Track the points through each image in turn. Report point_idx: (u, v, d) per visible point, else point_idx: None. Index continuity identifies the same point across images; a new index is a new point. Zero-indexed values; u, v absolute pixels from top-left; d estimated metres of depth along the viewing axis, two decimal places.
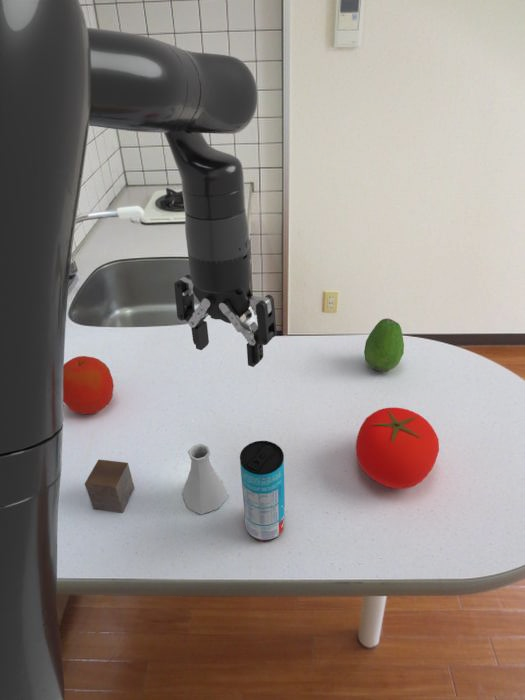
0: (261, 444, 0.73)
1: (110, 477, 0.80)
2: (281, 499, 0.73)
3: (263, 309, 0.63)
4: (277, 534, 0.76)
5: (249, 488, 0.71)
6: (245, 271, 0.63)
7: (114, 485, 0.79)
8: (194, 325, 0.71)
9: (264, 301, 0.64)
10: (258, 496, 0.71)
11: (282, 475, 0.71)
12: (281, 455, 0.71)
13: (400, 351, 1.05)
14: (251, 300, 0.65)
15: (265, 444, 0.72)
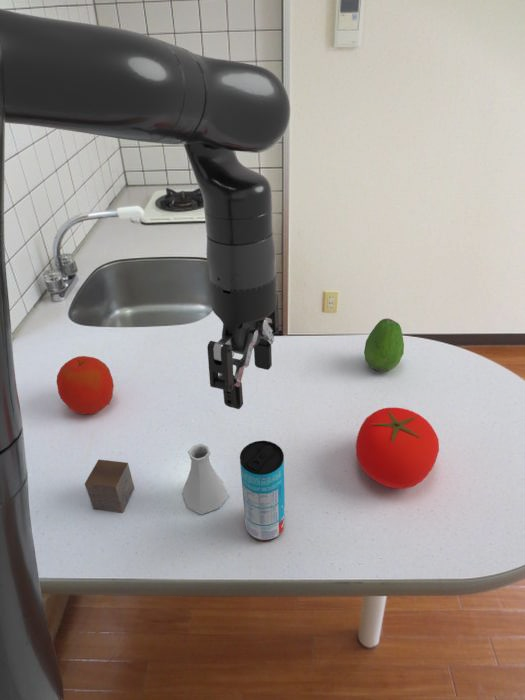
0: (261, 444, 0.73)
1: (110, 477, 0.80)
2: (281, 499, 0.73)
3: (207, 348, 0.57)
4: (277, 534, 0.76)
5: (249, 488, 0.71)
6: (227, 306, 0.57)
7: (114, 485, 0.79)
8: None
9: (214, 344, 0.57)
10: (258, 496, 0.71)
11: (282, 475, 0.71)
12: (281, 455, 0.71)
13: (400, 351, 1.05)
14: (223, 338, 0.58)
15: (265, 444, 0.72)
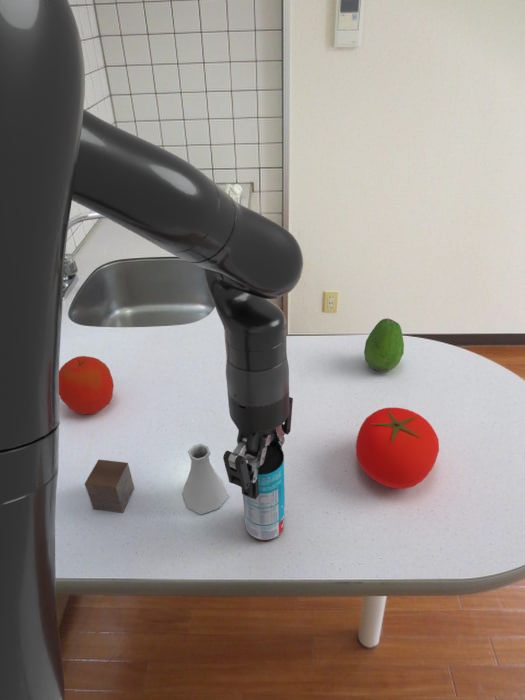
0: None
1: (110, 477, 0.80)
2: (281, 499, 0.73)
3: (223, 458, 0.63)
4: (277, 534, 0.76)
5: None
6: (242, 418, 0.62)
7: (114, 485, 0.79)
8: None
9: (229, 456, 0.63)
10: (258, 496, 0.71)
11: (282, 475, 0.71)
12: (281, 455, 0.71)
13: (400, 351, 1.05)
14: None
15: None
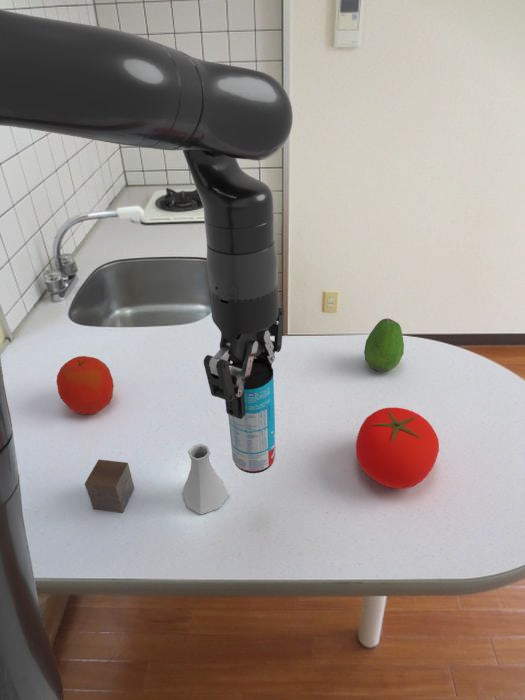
0: None
1: (110, 477, 0.80)
2: (270, 423, 0.66)
3: (204, 363, 0.56)
4: (266, 465, 0.69)
5: None
6: (224, 316, 0.55)
7: (114, 485, 0.79)
8: (254, 356, 0.66)
9: (210, 359, 0.56)
10: (244, 416, 0.64)
11: (272, 394, 0.64)
12: (270, 371, 0.64)
13: (400, 351, 1.05)
14: (220, 350, 0.57)
15: (253, 361, 0.66)
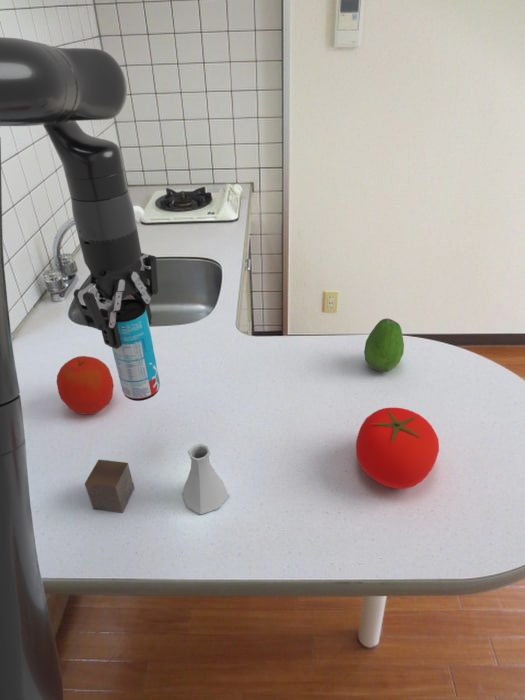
0: (128, 302, 0.77)
1: (110, 477, 0.80)
2: (147, 354, 0.78)
3: (74, 296, 0.68)
4: (149, 393, 0.81)
5: None
6: (89, 256, 0.67)
7: (114, 485, 0.79)
8: None
9: (78, 292, 0.67)
10: (121, 347, 0.75)
11: (145, 328, 0.76)
12: (143, 309, 0.75)
13: (400, 351, 1.05)
14: None
15: (131, 302, 0.77)
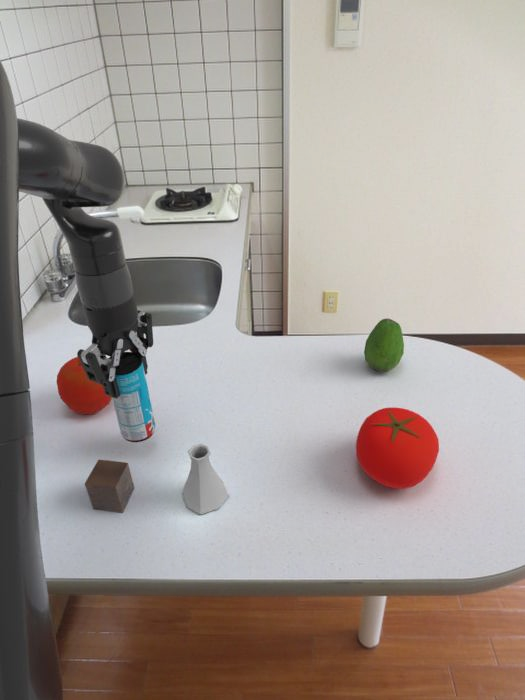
0: (126, 354, 0.85)
1: (110, 477, 0.80)
2: (143, 402, 0.85)
3: (78, 355, 0.76)
4: (145, 436, 0.89)
5: None
6: (91, 320, 0.75)
7: (114, 485, 0.79)
8: (131, 350, 0.86)
9: (81, 352, 0.75)
10: (120, 396, 0.83)
11: (141, 379, 0.83)
12: (140, 362, 0.83)
13: (400, 351, 1.05)
14: (91, 345, 0.76)
15: (129, 354, 0.85)
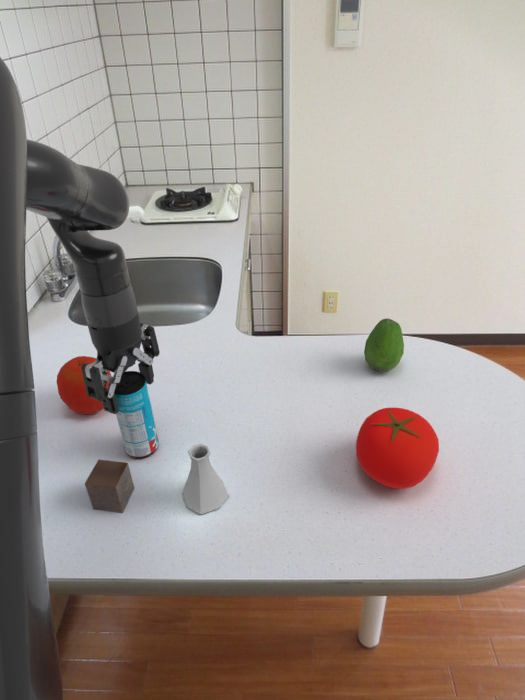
0: (130, 373, 0.87)
1: (110, 477, 0.80)
2: (147, 419, 0.87)
3: None
4: (149, 452, 0.91)
5: None
6: (96, 339, 0.77)
7: (114, 485, 0.79)
8: (138, 360, 0.88)
9: (86, 366, 0.77)
10: (124, 415, 0.85)
11: (145, 398, 0.85)
12: (143, 381, 0.85)
13: (400, 351, 1.05)
14: (95, 361, 0.78)
15: (133, 373, 0.87)
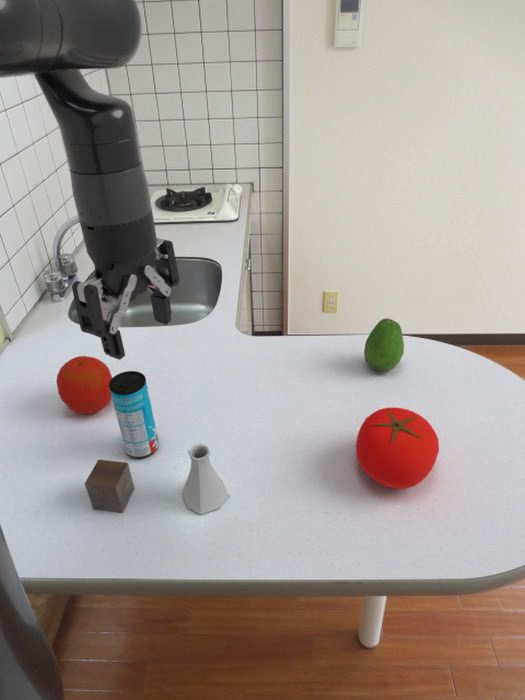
0: (130, 373, 0.87)
1: (110, 477, 0.80)
2: (147, 419, 0.87)
3: (72, 289, 0.54)
4: (149, 452, 0.91)
5: (117, 408, 0.85)
6: (93, 245, 0.54)
7: (114, 485, 0.79)
8: None
9: (78, 284, 0.54)
10: (124, 415, 0.85)
11: (145, 398, 0.85)
12: (143, 381, 0.85)
13: (400, 351, 1.05)
14: None
15: (133, 373, 0.87)
